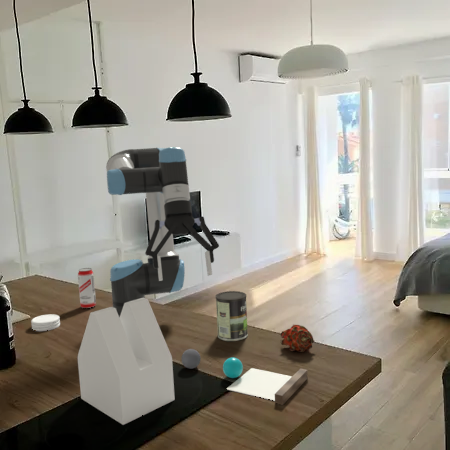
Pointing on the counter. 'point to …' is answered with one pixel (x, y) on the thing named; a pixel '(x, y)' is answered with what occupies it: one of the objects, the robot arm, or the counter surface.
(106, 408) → the white v-notch block
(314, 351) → the counter surface
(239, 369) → the teal ball
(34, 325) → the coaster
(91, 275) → the beer can
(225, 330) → the coffee can
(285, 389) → the stopper wall
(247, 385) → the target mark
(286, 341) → the dragon fruit
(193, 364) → the gray ball
